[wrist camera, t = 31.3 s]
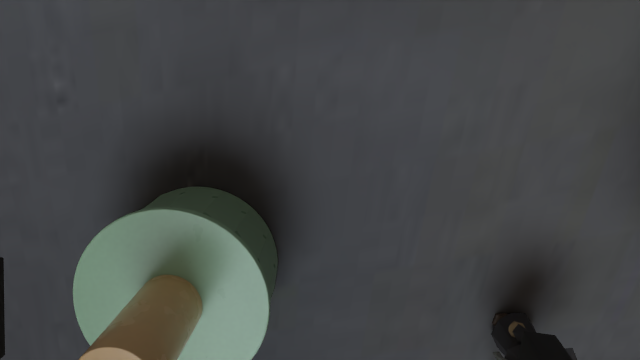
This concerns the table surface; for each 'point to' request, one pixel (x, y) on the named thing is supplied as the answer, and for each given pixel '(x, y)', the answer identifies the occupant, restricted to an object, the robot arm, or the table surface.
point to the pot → (229, 221)
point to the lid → (170, 290)
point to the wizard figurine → (513, 334)
